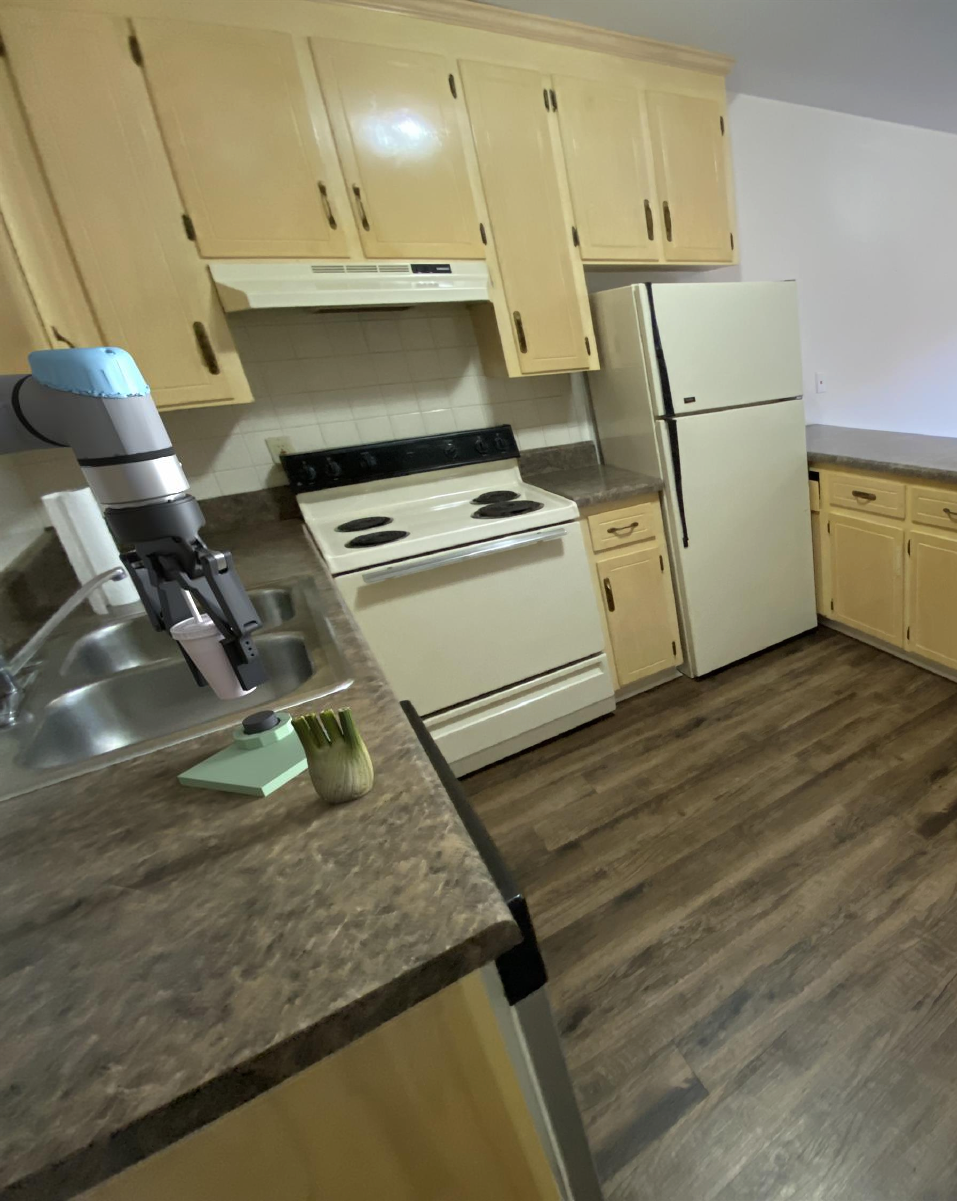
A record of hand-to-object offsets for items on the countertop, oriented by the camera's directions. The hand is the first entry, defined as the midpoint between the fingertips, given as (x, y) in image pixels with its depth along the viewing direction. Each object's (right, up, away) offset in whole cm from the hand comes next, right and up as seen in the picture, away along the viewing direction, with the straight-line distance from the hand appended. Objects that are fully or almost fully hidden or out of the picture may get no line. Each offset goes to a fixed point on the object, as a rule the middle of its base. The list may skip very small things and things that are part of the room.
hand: (234, 682), depth 80 cm
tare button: (-5, -8, +10) cm, 14 cm away
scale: (-2, -11, +7) cm, 14 cm away
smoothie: (0, -1, +1) cm, 1 cm away
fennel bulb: (+15, -14, -1) cm, 20 cm away
